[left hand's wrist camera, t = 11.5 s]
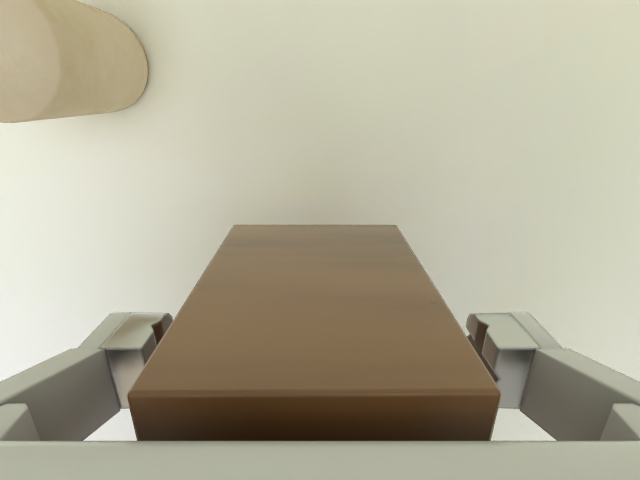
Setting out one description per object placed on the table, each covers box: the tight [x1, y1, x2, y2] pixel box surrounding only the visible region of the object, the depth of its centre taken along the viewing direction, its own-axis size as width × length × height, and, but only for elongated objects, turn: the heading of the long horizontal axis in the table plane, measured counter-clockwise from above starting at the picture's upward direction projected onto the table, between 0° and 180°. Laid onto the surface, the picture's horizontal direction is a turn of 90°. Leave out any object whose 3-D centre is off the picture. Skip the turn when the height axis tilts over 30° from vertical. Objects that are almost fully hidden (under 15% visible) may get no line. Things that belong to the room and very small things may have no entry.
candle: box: [0, 0, 148, 123], centre depth 18 cm, size 6×6×10 cm
